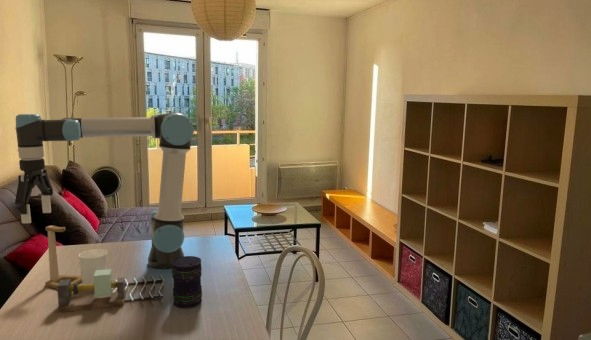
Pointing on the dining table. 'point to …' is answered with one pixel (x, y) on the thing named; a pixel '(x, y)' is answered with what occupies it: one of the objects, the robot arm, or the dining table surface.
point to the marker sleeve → (103, 282)
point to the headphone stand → (53, 260)
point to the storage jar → (187, 282)
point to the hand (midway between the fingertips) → (37, 217)
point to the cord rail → (88, 296)
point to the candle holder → (92, 264)
